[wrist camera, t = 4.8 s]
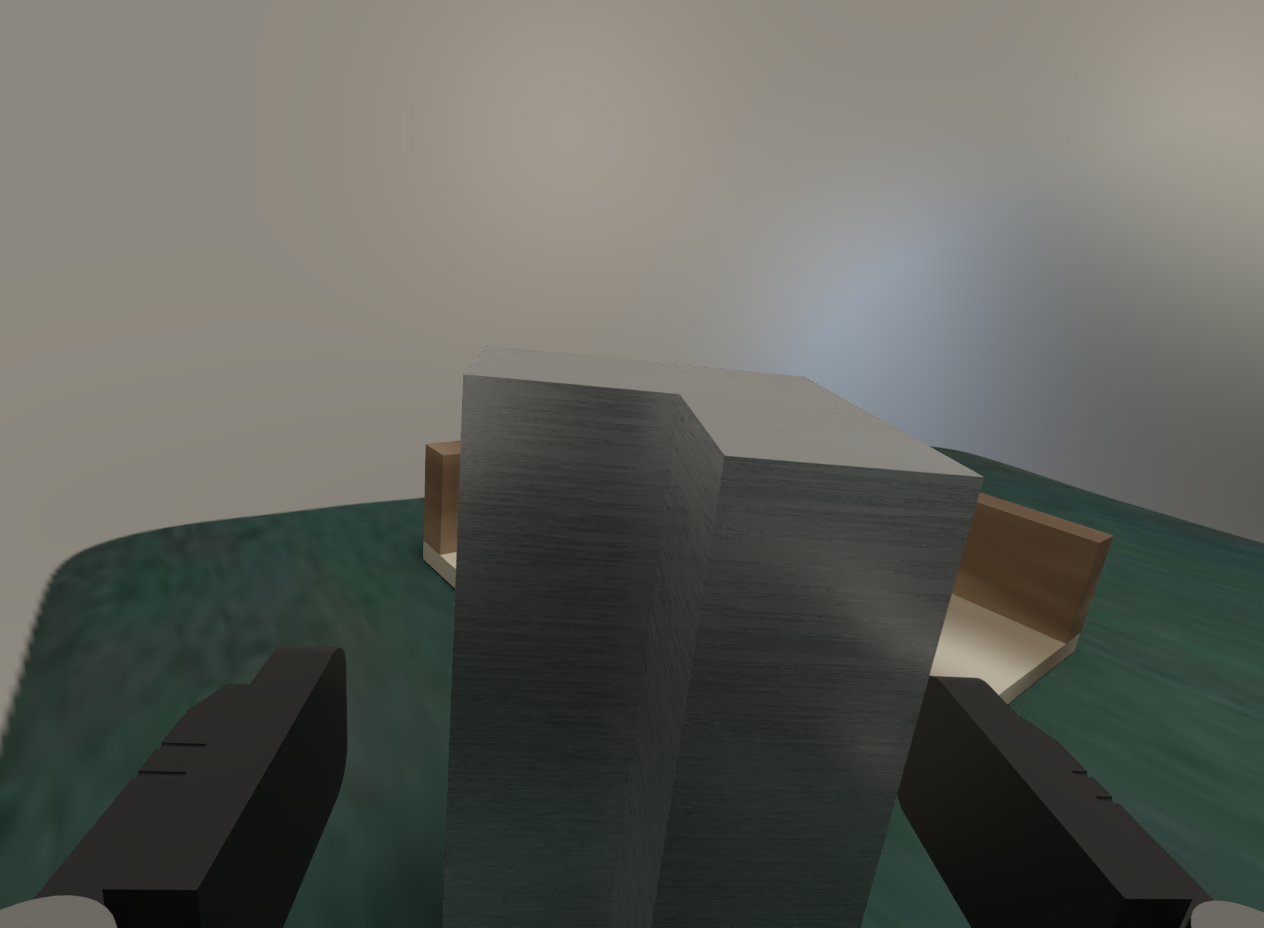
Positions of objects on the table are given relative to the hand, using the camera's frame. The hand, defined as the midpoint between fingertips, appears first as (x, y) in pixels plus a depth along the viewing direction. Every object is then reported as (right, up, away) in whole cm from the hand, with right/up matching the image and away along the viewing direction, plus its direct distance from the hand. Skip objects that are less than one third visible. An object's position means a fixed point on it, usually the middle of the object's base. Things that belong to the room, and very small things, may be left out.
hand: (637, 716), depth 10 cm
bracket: (-1, -6, +2) cm, 7 cm away
